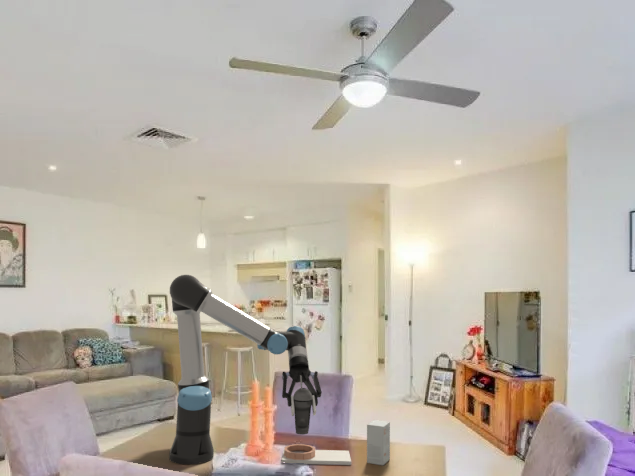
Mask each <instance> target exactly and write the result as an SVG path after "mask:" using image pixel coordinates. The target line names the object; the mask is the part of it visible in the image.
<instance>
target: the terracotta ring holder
mask: <svg viewBox="0 0 635 476" xmlns="http://www.w3.org/2000/svg"><path fill="white" fill-rule="evenodd" d="M315 450H316V447H315V446H313V445H308V444H303V443H302V444H301V443H299V444H297V443H296V444H290V445H289V444H288V445H287V446H285V447H284V449H283V451H284V456H285V457H287V458H290V459H294V460H306V459H311V458H313V457H315Z"/></svg>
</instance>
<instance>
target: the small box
mask: <svg viewBox="0 0 635 476" xmlns="http://www.w3.org/2000/svg"><path fill="white" fill-rule="evenodd" d="M390 450H391V422H390V421H387V420H378V419H373V420H372V421H370V422H368V423H367V424H366V463H367V464H373V465H377V466H385V464H387V463H388V461H389V460H390V459H391V451H390Z"/></svg>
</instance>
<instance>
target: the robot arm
mask: <svg viewBox="0 0 635 476" xmlns="http://www.w3.org/2000/svg"><path fill="white" fill-rule="evenodd" d="M169 294H170V298H171V304H172V306H171V307H172V313H174V314H175V315H176V318H177V333H178V334H177V335H178V344H179V345H178V346H179V347H178V348H179V361H180V372H181V377H180V380H179V381H178V383H177V390H178V392H177V393H178V396H177V410H176V411H177V412H176V426H175V437H174V440H173V441H172V442H173V443H172V445H171V448H170V450H169V457H168V458H169V461H170V462H172V463H174V464H178V465H198V464H202V463H206V462H209V461H211V460H212V459H213V458H214V446H213V441H212V438H211V435H210V433H211V432H210V431H211V413H212V412H211V411H212V400H213V397H212V395H213V394H212V391H211V389H210V388H211V387H210V379H209V378H208V377H207V375H205V365H204V354H203V353H204V352H203V350H204V349H203V340H202V339H203V338H202V327H201V313H203V314H205V315H206V316H208V317H210V318H211V319H213V320H215V321H217V322H219V323H220V324H222V325H224V326H226V327H228V328H229V329H231V330H232V331H234V332H236V333H237V334H239V335H240V336H243V337H244V338H246V339H248V340H249V341H251V342H252V343H255V344H256V346H257V350H263V351H268V352H270V353H272V354H273V355H283V354H284V353H285V352H286V351H287V356H288V367H289V371H287V372H286V371H282V373H281V379H282V389H281V390H282V393H281V398H282V399H286V400H287V407H290V413H291V417H295V413H294V412H295V411H294V399H293V396H294V395H293V392H294V389H295V387H296V384H297V383H301V382H300V375H301V376H302V384H303V383H304V385H305V386H306V389H308V390H309V391H310V392H311V394H312V399H313V400H312V406H311V411H312V416H316V415H317V406H318V404H319V400H318V398H321V396H322V388H321V385H320V382H319V378H318V374H319V373H318V371H316V370H315V371H314V372H313V371H311V370H310V368H309V367H310V365H309V360H308V359H309V357H308V351H307V344H306V343H307V342H306V335H305V331H304V328H303V327H301V326H298V325H293V326H289V327H288V328H287V329H286V331H279V330H278V331H277V330H274V329H273V328H271V327H269V325H266V324H264V323H262V322H261V321H259V320H258V319H256V318H255V317H253V316H251V315H249V314H247V313H246V312H245V311H243V310H241V309H239V308H238V307H236V306H234V305H232V304H231V303H229V302H227V301H225V300H224V299H222V298H221V297H219V296H217V295H216V294H213V292H212V289H210V288H209V287H207V286H206V285H204V284H203V283H202V282H200V281H199V279H198V278H196V277H195V276H193V275H190V274H181V275H179V276H177V277H175V278H174V279H173V281H171V284H170V286H169ZM289 377H290V379H292V380H291V383H290V387H289V390H288V392H287V383H288V378H289ZM310 377H311V379H312V381H313V383H312V382H311V381H310Z"/></svg>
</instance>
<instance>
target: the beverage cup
mask: <svg viewBox="0 0 635 476" xmlns="http://www.w3.org/2000/svg"><path fill="white" fill-rule="evenodd" d="M299 383H300V388H298V389H297V390H296V391H295V392H294V394H293V395H292V396H293V399H294V411H295V412H294V426H295V427H294V428H295V434H296V435H300V436H301V435H307V434H309V429H310V423H311V413H312V412H311V411H312V400H313V399H312V394H311V392H310V391H309V390H308V388H307V387H306V388H305V387H303V383H302V376H301V375H300V382H299Z"/></svg>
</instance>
